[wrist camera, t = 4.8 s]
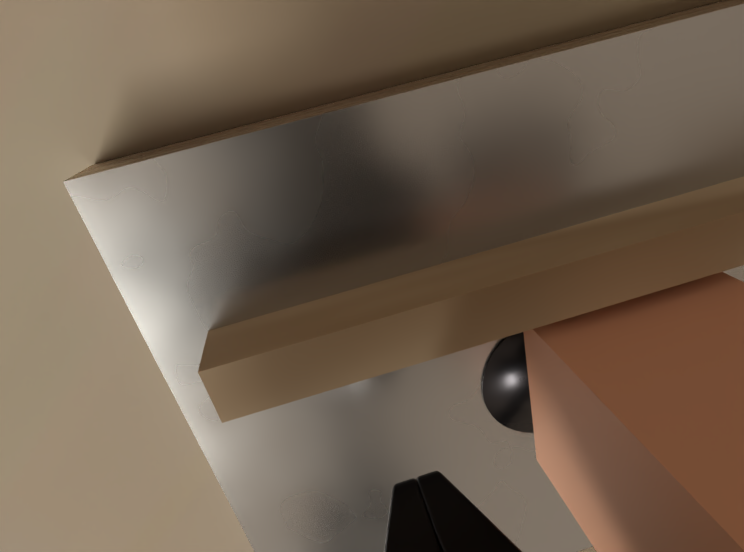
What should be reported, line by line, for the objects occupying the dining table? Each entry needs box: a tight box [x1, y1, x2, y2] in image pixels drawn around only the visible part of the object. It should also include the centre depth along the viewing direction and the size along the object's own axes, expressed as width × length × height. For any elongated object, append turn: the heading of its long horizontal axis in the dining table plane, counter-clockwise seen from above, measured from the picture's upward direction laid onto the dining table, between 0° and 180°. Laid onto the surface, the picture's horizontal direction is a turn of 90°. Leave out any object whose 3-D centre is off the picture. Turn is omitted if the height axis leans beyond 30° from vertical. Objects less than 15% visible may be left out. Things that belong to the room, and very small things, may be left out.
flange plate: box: [64, 0, 744, 552], centre depth 11 cm, size 12×20×1 cm, turn 103°
